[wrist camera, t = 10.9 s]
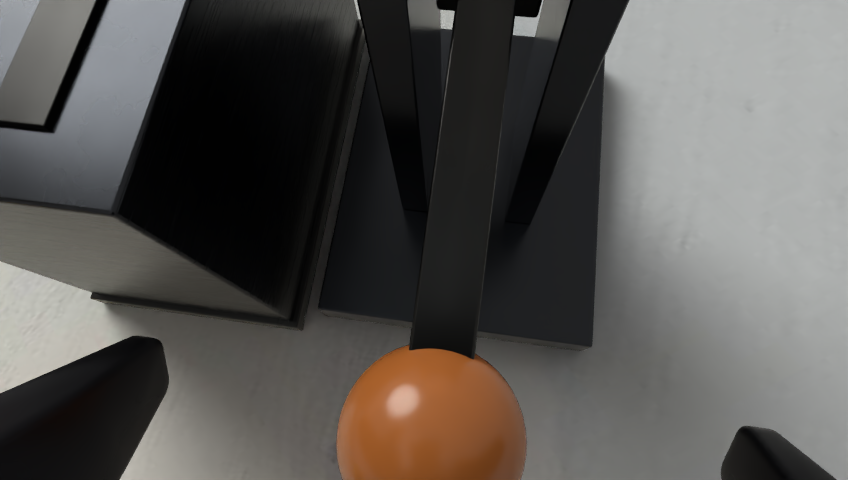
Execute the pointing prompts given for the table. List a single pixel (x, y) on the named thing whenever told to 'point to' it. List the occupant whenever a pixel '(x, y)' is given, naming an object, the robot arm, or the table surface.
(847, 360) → the table surface
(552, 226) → the lever bracket
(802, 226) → the table surface
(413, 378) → the lever
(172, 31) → the toaster
